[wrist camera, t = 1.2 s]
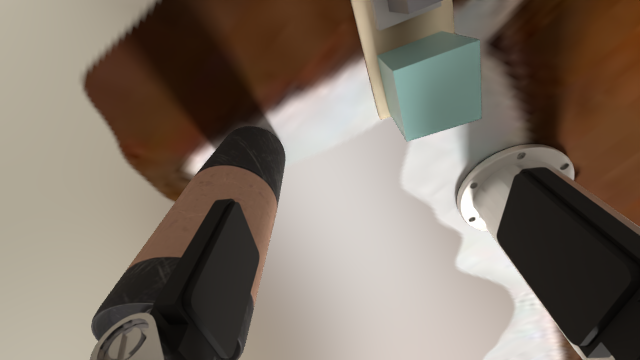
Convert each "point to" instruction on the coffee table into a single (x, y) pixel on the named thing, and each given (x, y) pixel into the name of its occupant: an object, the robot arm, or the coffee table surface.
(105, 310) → the travel mug
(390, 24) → the post
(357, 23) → the board
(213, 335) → the robot arm
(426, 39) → the mint green cube
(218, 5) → the coffee table surface
